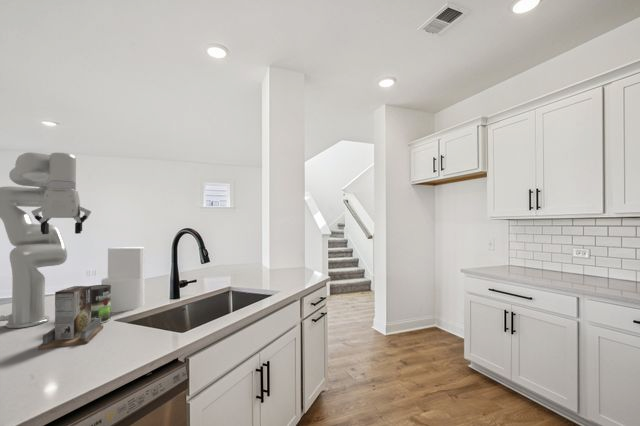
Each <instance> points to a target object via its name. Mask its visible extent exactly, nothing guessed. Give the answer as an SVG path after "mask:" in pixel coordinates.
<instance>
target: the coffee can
mask: <svg viewBox="0 0 640 426" xmlns="http://www.w3.org/2000/svg"><path fill="white" fill-rule="evenodd" d="M90 286H91V319H92V318H101V325H103V324H105V323H108V322H110V321H111V320H112V318H111V312H110V306H111V285H101V284H95V285H90Z"/></svg>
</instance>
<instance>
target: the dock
mask: <svg viewBox="0 0 640 426" xmlns="http://www.w3.org/2000/svg"><path fill="white" fill-rule="evenodd" d="M103 328H104V325H103V324H101V318H92V319H91V324H89V325H88V326H87V327H86V328H85V329H83V330H82V331H81V335H80V336H78V337H77V338H75V339H62V340H55V327H54V328H52V329H51V330H49V331H47V332H45V334H43V335H42V343H41V344H39V345H38V347H37V348H38V351H39V350H45V349H53V348H62V347H68V346H69V347H70V346H71V347H72V346H77V345H86V344H88V343H90V342H91V341H92V340H93V339H94V338H95V337H96V336H97V335H98V334H99V333H100V332H101V331H102V330H103Z"/></svg>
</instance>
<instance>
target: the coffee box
mask: <svg viewBox="0 0 640 426" xmlns="http://www.w3.org/2000/svg"><path fill="white" fill-rule="evenodd" d="M91 286H92V285H86V286H85V285H74V286H71V287H67V288H64V289H61V290H58V291H55V293H54V294H55V295H54V328H55V340H62V339H75V338H77V337H78V336H80V335H81V331H82V330H83V329H85V328H86V327H87V326H88V325H89V324H91Z"/></svg>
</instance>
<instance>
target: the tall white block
mask: <svg viewBox="0 0 640 426" xmlns="http://www.w3.org/2000/svg"><path fill="white" fill-rule="evenodd" d="M145 249H146V248H145V247H144V246H126V247H125V246H124V247H121V246H120V247H119V246H118V247H108V248H107V277H105V278H103V279H101V284H100V285H111V306H110V313H120V312H121V311H122V312H128V311H127V310H129V311H132V309H133V310H136V308H137V309H139V307H140V308H142V307H144V306H145V259H146V257H145V252H146V251H145ZM143 305H144V306H143ZM141 306H142V307H141Z"/></svg>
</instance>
